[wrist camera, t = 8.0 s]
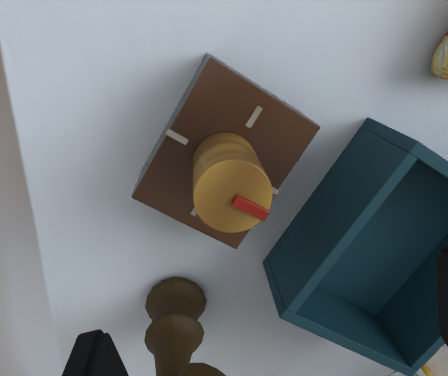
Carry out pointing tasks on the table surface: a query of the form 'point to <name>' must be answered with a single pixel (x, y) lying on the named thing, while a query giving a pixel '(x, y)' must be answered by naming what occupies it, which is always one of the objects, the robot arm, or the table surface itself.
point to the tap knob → (230, 184)
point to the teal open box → (369, 251)
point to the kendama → (176, 328)
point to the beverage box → (421, 375)
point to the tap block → (219, 123)
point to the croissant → (441, 59)
